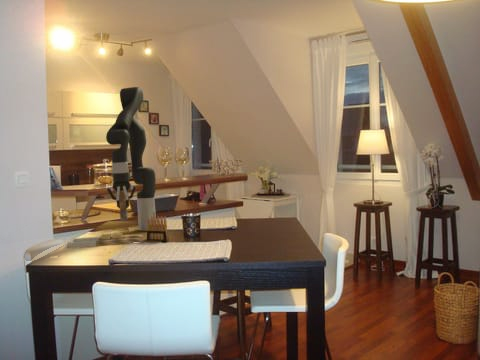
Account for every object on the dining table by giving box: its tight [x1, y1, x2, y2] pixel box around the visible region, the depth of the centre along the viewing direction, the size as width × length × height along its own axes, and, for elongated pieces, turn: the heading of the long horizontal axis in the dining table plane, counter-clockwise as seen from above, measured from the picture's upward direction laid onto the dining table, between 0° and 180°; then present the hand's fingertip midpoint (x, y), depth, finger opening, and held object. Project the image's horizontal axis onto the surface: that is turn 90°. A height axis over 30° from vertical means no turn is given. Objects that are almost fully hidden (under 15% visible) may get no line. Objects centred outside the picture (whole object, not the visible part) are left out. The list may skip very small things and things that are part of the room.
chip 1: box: [100, 233, 112, 240], centre depth 218 cm, size 4×4×4 cm
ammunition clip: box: [146, 215, 169, 243], centre depth 221 cm, size 11×2×12 cm, turn 68°
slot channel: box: [95, 234, 144, 247], centre depth 219 cm, size 20×12×3 cm, turn 99°
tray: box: [67, 236, 100, 249], centre depth 216 cm, size 12×10×3 cm
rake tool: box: [119, 191, 129, 221], centre depth 228 cm, size 3×5×14 cm, turn 10°
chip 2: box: [111, 232, 123, 240], centre depth 218 cm, size 4×4×4 cm
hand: (123, 207), depth 228 cm, fingers closed on rake tool, 3 cm apart
